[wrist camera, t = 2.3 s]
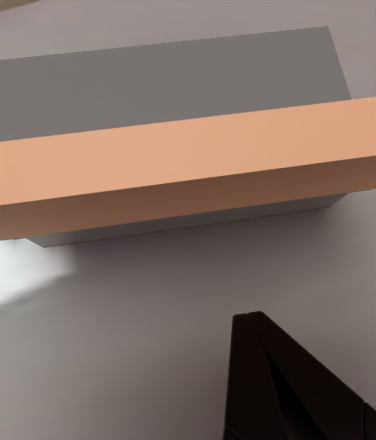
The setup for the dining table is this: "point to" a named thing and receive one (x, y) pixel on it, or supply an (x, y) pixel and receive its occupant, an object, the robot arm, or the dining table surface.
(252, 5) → the dining table surface
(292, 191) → the lid
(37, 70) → the cable box
